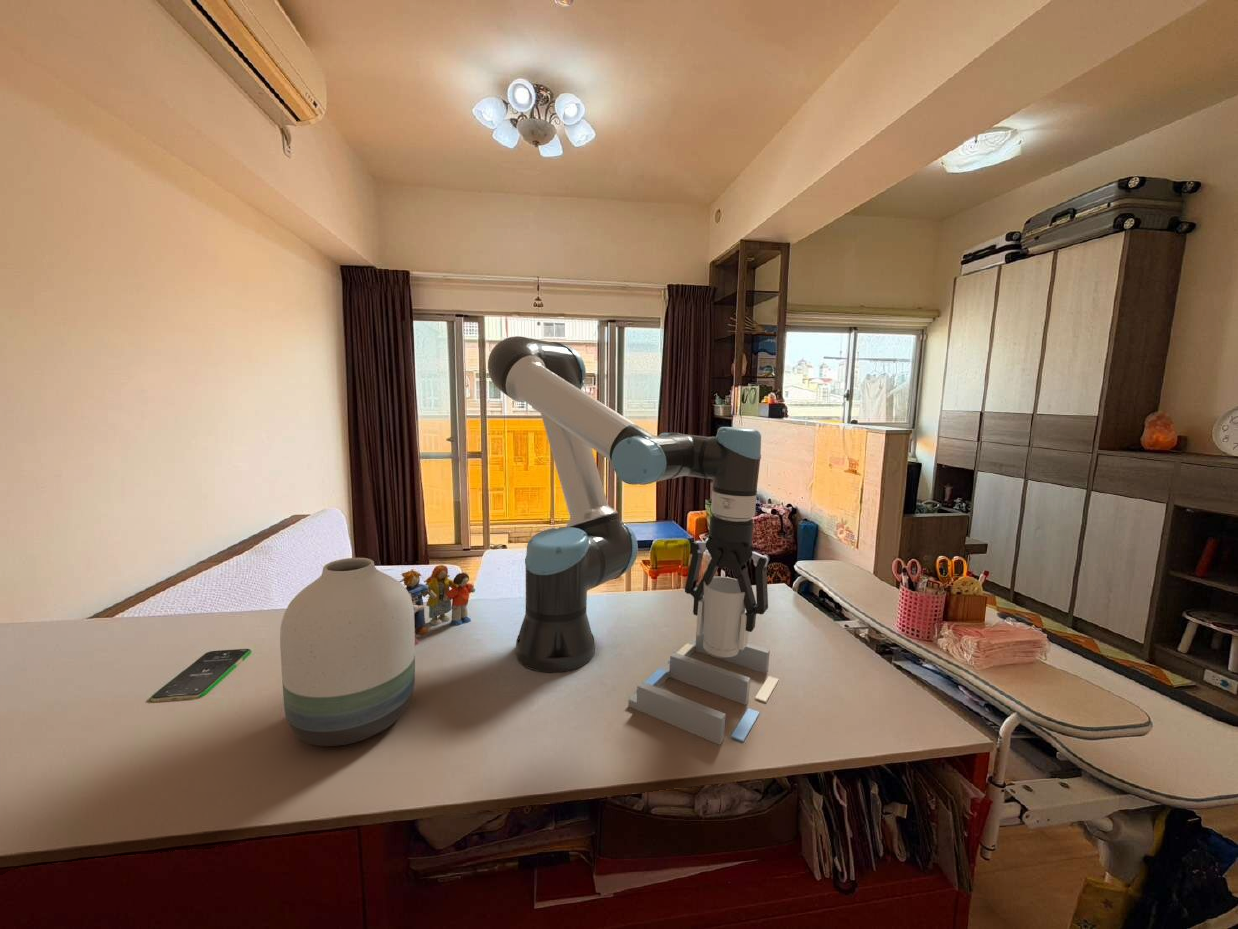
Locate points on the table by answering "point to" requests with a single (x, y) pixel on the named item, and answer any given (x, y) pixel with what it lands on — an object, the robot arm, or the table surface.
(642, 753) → the table surface
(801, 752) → the table surface
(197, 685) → the smartphone
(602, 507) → the robot arm
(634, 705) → the parallel grey wall panels
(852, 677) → the table surface
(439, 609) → the doll family
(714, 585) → the cup
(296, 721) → the vase
